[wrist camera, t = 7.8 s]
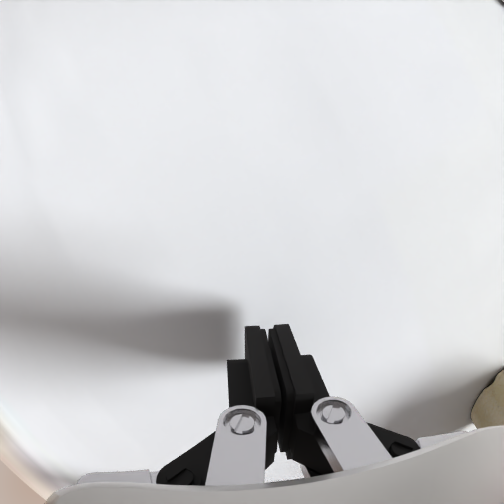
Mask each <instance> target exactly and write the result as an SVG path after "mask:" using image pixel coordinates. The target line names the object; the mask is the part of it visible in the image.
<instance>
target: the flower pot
mask: <svg viewBox="0 0 504 504" xmlns="http://www.w3.org/2000/svg"><path fill="white" fill-rule="evenodd" d="M471 419H472V421H473V423H474V425H475V426H476V428H477V429H479V428H484V427H489V426H499V425H504V370H502V371H501V372H500V373H499V374H498V375H497V376H496V378H495V381H494V382H493V384H491V385H490V386H489V387H487V388H485V389H484V390H483V392H482V393H481V394H480V396H479V397H478V399H477V401H476V403H475V405H474V407H473V409H472V412H471Z"/></svg>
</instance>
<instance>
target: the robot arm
mask: <svg viewBox="0 0 504 504" xmlns="http://www.w3.org/2000/svg"><path fill="white" fill-rule="evenodd" d="M502 1H503V2H504V0H502ZM227 371H228V391H229V408H228V409H226V410H224V411H223V412H222V413H221V414H220V416H219V419H218V423H217V428H216V431H215V432H214V433H212V434H211V435H209V436H208V437H207V438H205V439H204V440H202V441H201V442H200V443H198V444H197V445H195V446H194V447H193V448H191V449H190V450H188V451H187V452H185V453H184V454H182V455H181V456H179V457H178V458H176V459H175V460H173V461H172V462H170V463H169V464H167V465H166V466H164V467H163V468H162V469H161V470H160V471H157V472H150V471H149V470H138V471H123V472H95V473H88V474H86V475H84V476H82V477H81V478H80V479H79V481H78V482H77V485H72V486H68V487H65V488H62V489H60V490H58V491H56V492H54V493H53V494H52V495H51V496H50V497H49V498H48V499H47V501H46V502H45V503H44V504H504V425H499V426H489V427H484V428H479V429H476V430H472V431H469V432H467V431H458V432H453V433H447V434H441V435H434V436H427V437H419V438H418V439H417V441H414V440H413V439H411V438H409V437H406V436H403V435H401V434H398V433H395V432H392V431H389V430H386V429H383V428H381V427H378V426H375V425H373V424H370V423H367V422H365V420H364V419H363V418H362V416H361V415H360V413H359V412H358V411H357V409H356V408H355V407H354V405H353V404H352V403H351V402H349V401H347V400H346V399H343V398H340V397H330V396H329V394H328V391H327V389H326V387H325V384H324V382H323V380H322V378H321V375H320V373H319V371H318V368H317V366H316V364H315V361H314V359H313V357H312V355H300V352H299V350H298V347H297V344H296V342H295V339H294V337H293V334H292V331H291V329H290V326H289V324H281V325H274V328H273V329H269V333H268V339H267V335H266V331H265V329H260V327H259V326H245V359H239V360H227ZM277 442H278V444H279V448H280V452H286V456H287V460H288V459H293V460H294V461H296V462H298V463H300V464H301V465H300V467H301V471H302V473H303V475H304V477H305V478H302V479H295V480H287V481H278V482H269V483H264V476H265V470H266V469H267V468H268V467H269V466H270V465H271V464H272V463H273V462H274V455H275V453H276V451H277Z"/></svg>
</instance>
